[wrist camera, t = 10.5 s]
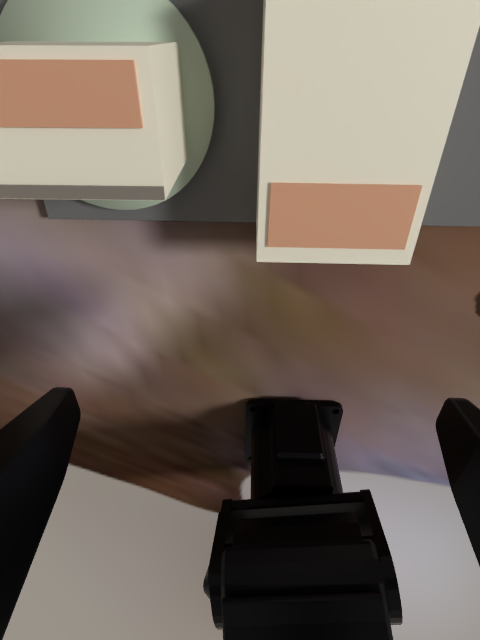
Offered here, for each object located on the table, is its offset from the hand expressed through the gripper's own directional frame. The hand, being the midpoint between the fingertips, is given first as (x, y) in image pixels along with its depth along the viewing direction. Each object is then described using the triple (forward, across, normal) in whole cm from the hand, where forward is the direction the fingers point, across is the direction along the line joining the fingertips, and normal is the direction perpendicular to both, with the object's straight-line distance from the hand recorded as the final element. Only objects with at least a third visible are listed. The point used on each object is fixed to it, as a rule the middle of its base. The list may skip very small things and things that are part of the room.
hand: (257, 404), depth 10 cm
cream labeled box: (+11, -3, -4) cm, 13 cm away
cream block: (+11, +6, -5) cm, 13 cm away
